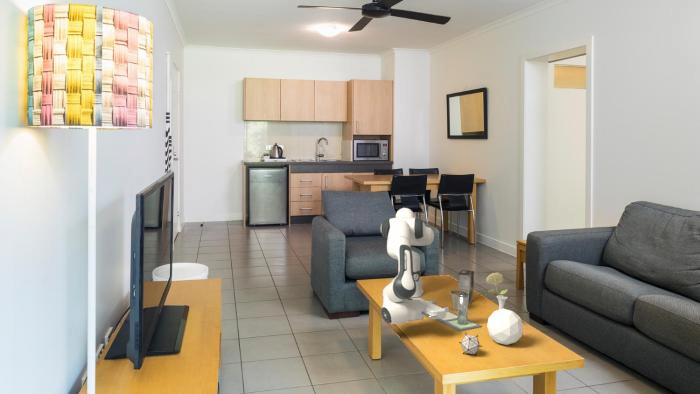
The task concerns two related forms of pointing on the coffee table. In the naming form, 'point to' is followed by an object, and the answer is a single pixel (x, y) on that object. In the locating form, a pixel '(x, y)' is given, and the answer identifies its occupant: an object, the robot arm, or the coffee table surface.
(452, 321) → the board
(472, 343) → the game die
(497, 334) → the geometric sphere
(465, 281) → the coffee box
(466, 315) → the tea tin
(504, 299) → the flower in vase
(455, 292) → the flower pot
